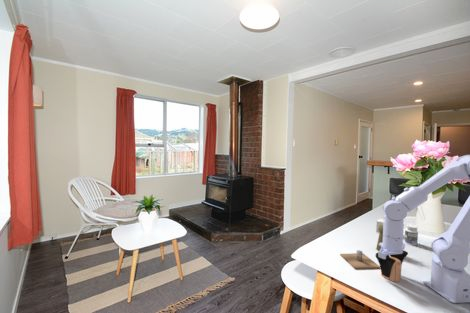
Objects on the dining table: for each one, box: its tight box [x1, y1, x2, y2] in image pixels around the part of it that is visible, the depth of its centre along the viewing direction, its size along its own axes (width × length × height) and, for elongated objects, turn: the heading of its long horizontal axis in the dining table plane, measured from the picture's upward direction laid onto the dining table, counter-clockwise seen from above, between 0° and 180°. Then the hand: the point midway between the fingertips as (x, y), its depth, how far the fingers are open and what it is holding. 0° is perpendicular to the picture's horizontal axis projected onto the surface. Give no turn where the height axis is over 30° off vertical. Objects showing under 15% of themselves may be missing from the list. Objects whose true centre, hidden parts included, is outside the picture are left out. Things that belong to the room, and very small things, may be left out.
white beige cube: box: [375, 218, 384, 234], centre depth 115 cm, size 6×6×6 cm
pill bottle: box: [404, 223, 419, 246], centre depth 102 cm, size 5×5×8 cm
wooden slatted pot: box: [380, 255, 403, 283], centre depth 76 cm, size 6×6×6 cm
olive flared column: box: [375, 225, 383, 252], centre depth 95 cm, size 6×6×11 cm
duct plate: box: [339, 249, 381, 270], centre depth 86 cm, size 10×10×4 cm
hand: (390, 272), depth 76 cm, fingers open, 7 cm apart
